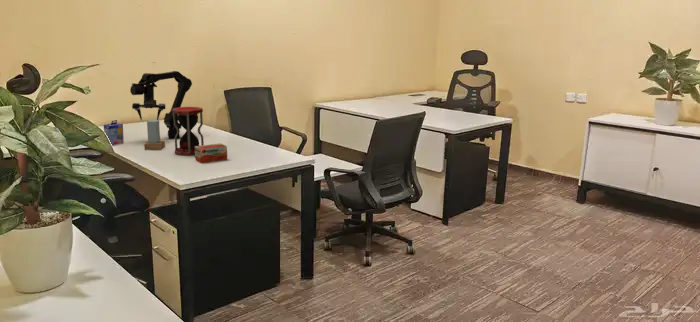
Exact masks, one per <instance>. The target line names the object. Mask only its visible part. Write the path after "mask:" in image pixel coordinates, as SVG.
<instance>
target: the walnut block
mask: <svg viewBox="0 0 700 322" xmlns="http://www.w3.org/2000/svg"><path fill="white" fill-rule="evenodd" d="M143 147H144V151H161V150H162V149H164V148H166V140H160V142H158V143H148V141H146V142H145V143H144V144H143Z"/></svg>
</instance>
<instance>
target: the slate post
mask: <svg viewBox="0 0 700 322" xmlns="http://www.w3.org/2000/svg"><path fill="white" fill-rule="evenodd" d="M146 125H147V126H146V127H147V129H146V130H147V142H148V143H158V142H160V141H161V133H160V132H161V131H160V120H159V119H158V120H157V119H149V120H147V121H146Z"/></svg>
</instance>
